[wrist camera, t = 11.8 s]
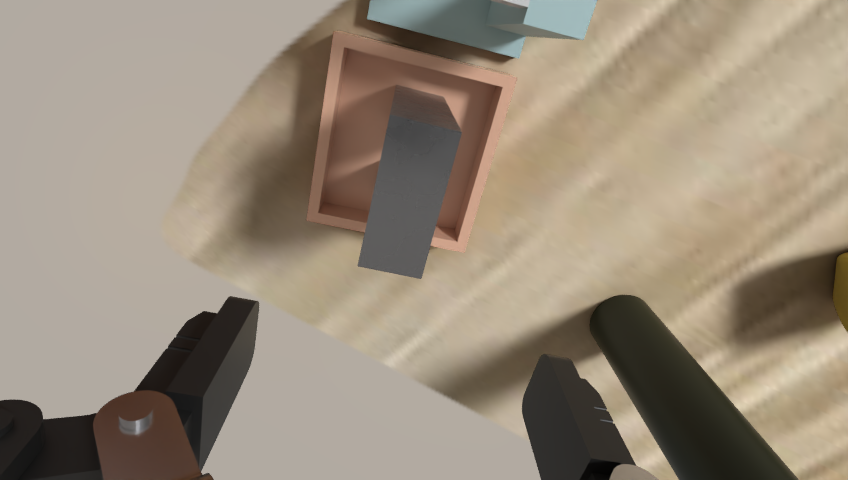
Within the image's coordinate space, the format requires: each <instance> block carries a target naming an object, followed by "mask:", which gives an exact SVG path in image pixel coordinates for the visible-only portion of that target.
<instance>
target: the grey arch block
mask: <svg viewBox="0 0 848 480" xmlns="http://www.w3.org/2000/svg"><path fill="white" fill-rule="evenodd" d="M461 134H462V131H461V129H460V127H459V125H458V123H457V121H456V119H455V118H454V116H453V114H452V112H451V110H450V108H449V106H448V104H447V102H446V100H445V98H444V97H443V96H439V95H435V94H431V93H427V92H423V91H420V90H416V89H412V88H408V87H404V86H400V85H396V88H395V93H394V97H393V102H392V107H391V111H390V116H389V121H388V126H387V130H386V135H385V140H384V144H383V149H382V154H381V159H380V163H379V168H378V173H377V177H376V182H375V187H374V191H373V196H372V201H371V206H370V210H369V215H368V220H367V224H366V229H365V234H364V239H363V243H362V248H361V253H360V257H359V262H358V266H359V267H364V268H369V269H374V270H379V271H384V272H389V273H394V274H399V275H404V276H409V277H414V278H419V279H421V278H422V274H423V271H424V267H425V264H426V260H427V256H428V253H429V249H430V246H431V242H432V238H433V235H434V231H435V228H436V224H437V220H438V217H439V213H440V210H441V206H442V203H443V199H444V195H445V192H446V188H447V185H448V181H449V177H450V174H451V170H452V167H453V163H454V159H455V156H456V152H457V149H458V145H459V141H460V138H461Z"/></svg>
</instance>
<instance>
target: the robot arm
mask: <svg viewBox="0 0 848 480" xmlns="http://www.w3.org/2000/svg"><path fill="white" fill-rule="evenodd" d="M258 312H259V302H258V301H253V300H248V299H242V298H237V297H232V296H230V297H228V299H227V300H226V301H225V303H224V304H223V306H222V308H221V309H220V311H219V312H218V313H211V312H206V311H203V312H202V313H200V314H198V315H197V316H195V317H193V318H192V319H190V320H188V321H187V322H186V323H185V325H184V326H183V327H182V328H181V330H180V331H179V332H178V334H177V336H176V338H174V339H173V341H172V342H171V343H170V345H169V346H168V349H166V350H165V351H164V352H163V354H162V355H161V356H160V358H159V359H158V360H157V362H156V363H155V364H154V366H153V367H152V368H151V370H150V371H149V372H148V374H147V375H146V376H145V378H144V379H143V380H142V381H141V383H140V384H139V385H138V387H137V388H136V389H135V391H134V392H130V393H126V394H123V395H121V396H118V397H116V398H114V399H112V400H111V401H109V402H108V403H106V404H105V405H104V406H103V407H102V408H101V409H100V410H99V411H98V413H95V414H91V415H84V416H76V417H65V418H54V419H44V420H43V415H42V412H41V410H40V408H39V407H37V406H36V405H35V404H33V403H31V402H28V401H23V400H2V401H0V480H214V479H213V478H212V476H211V475H210V474H209V473H207V474H204V475H202V473H201V470H202V468H203V466H204V464H205V462H206V460H207V458H208V455H209V453H210V451H211V449H212V447H213V445H214V443H215V441H216V438H217V436H218V434H219V432H220V430H221V428H222V426H223V423H224V421H225V419H226V417H227V415H228V413H229V411H230V409H231V407H232V404H233V402H234V400H235V398H236V396H237V394H238V391H239V389H240V387H241V385H242V383H243V381H244V379H245V377H246V374H247V372H248V370H249V367H250V364H251V361H252V358H253V354H254V348H255V340H256V331H257V321H258ZM606 409H607V408H606V406H605V404H604V402H603V400H602V398H601V396H600V394H599V393H598V392H597V391H596V390H595V389H594V388H593V387H592V386H591V385H590V383H589V382H588V381H587V380H586V379H581V378H580V377H579V374H578V372H577V370H576V368H575V366H574V364H573V362H572V361H571V359H569V358H564V357H558V356H553V355H547V354H543V355H542V356H541V357H540V359H539V361H538V363H537V365H536V368H535V370H534V372H533V375H532V377H531V379H530V382H529V384H528V386H527V389H526V391H525V394H524V397H523V403H522V414H523V418H524V422H525V425H526V429H527V432H528V436H529V439H530V443H531V446H532V449H533V453H534V456H535V460H536V463H537V467H538V470H539V473H540V477H541V480H658V479H657V478H656V477H655V476H654V475H652V474H651V473H649V472H648V471H646V470H644V469H642V468H640V467H638V466H636V464H635V462H634V461H633V459H632V457H631V455H630V453H629V451H628V449H627V447H626V445H625V443H624V441H623V439H622V437H621V435H620V433H619V431H618V429H617V428H616V426H615V424H613V420H612V418H611V416H610V414H609V412H608V411H606Z"/></svg>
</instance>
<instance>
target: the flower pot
mask: <svg viewBox="0 0 848 480" xmlns="http://www.w3.org/2000/svg"><path fill="white" fill-rule="evenodd" d="M833 302H834V305H835V309H836V311H837V314H838V316H839V319H840V321H841V322H842V324H843V326H844V328H845V329H846V331H847V332H848V252H847V253H843V254H841V255H839V256H838V258H837V261H836V271H835V281H834V289H833Z"/></svg>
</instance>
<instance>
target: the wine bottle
mask: <svg viewBox="0 0 848 480" xmlns="http://www.w3.org/2000/svg"><path fill="white" fill-rule="evenodd" d="M590 331H591V333H592V335H593V337H594V339H595V340H596V342H597V344H598V345H599V347H600V349H601V350H602V352H603V354H604V355H605V357H606V359H607V360H608V362H609V364H610V365H611V367H612V369H613V370H614V372H615V374H616V375H617V377H618V379H619V380H620V382H621V384H622V385H623V387H624V389H625V390H626V392H627V394H628V395H629V397H630V399H631V400H632V402H633V404H634V405H635V407H636V409H637V410H638V412H639V414H640V415H641V417H642V419H643V420H644V422H645V424H646V425H647V427H648V429H649V430H650V432H651V434H652V435H653V437H654V439H655V440H656V442H657V444H658V445H659V447H660V449H661V450H662V452H663V454H664V455H665V457H666V459H667V460H668V462H669V464H670V465H671V467H672V469H673V470H674V472H675V474H676V475H677V477H678V479H679V480H798V478H797V477H796V476H795V475H794V474H793V473H792V471H791V470H790V469H789V468H788V467H787V466H786V465H785V463H784V462H783V461H782V460H781V459H780V458H779V456H778V455H777V454H776V453H775V452H774V451H773V449H772V448H771V447H770V446H769V445H768V444H767V443H766V441H765V440H764V439H763V438H762V437H761V436H760V434H759V433H758V432H757V431H756V430H755V429H754V428H753V426H752V425H751V424H750V423H749V422H748V421H747V419H746V418H745V417H744V416H743V415H742V414H741V412H740V411H739V410H738V409H737V408H736V407H735V406H734V404H733V403H732V402H731V401H730V400H729V399H728V397H727V396H726V395H725V394H724V393H723V392H722V391H721V389H720V388H719V387H718V386H717V385H716V384H715V382H714V381H713V380H712V379H711V378H710V377H709V376H708V374H707V373H706V372H705V371H704V370H703V369H702V367H701V366H700V365H699V364H698V363H697V362H696V360H695V359H694V358H693V357H692V356H691V355H690V354H689V352H688V351H687V350H686V349H685V348H684V347H683V345H682V344H681V343H680V342H679V341H678V340H677V339H676V337H675V336H674V335H673V334H672V333H671V332H670V330H669V329H668V328H667V327H666V326H665V325H664V323H663V322H662V321H661V320H660V319H659V318H658V317H657V315H656V314H655V313H654V312H653V311H652V310H651V308H650V307H649V306H648V305H647V304H646V303H645V302H644V301H643V300H642V299H640V298H638V297H635V296H631V295H621V296H616V297H613V298H610V299H608V300H606V301H605V302H603V303H602V304H601V305H599V306H598V307H597V309H596V310H595V311H594V313H593V315H592V317H591V320H590Z"/></svg>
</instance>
